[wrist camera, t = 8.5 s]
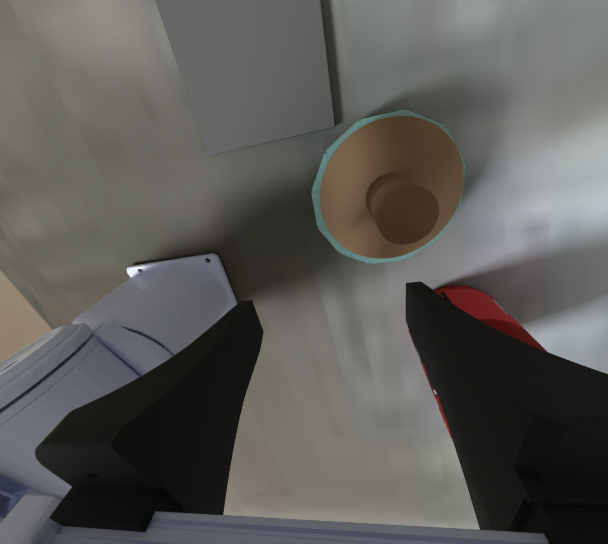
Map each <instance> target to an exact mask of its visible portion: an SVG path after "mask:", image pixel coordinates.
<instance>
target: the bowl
mask: <svg viewBox="0 0 608 544" xmlns="http://www.w3.org/2000/svg"><path fill="white" fill-rule="evenodd" d="M393 116H413V117H417V118H422V119H425V120H427V121H430V122H432V123H433V124H435V125H437V126H438V127H440V128H441V129H442V130H443V131H445V132H446V133H447V134H448V135H449V137H450V138H451V139H452V140H453V142H454V143H455V141H454V139H453V137H452V136H451V134H450V132H449V130H448V128H447V127H445V125H443V124H440V123H438V122H436V121H433V120H431V119H428V118H426V117H424V116H421V115H419V114H416V113H414V112H412V111H409V110H407V109H406V110H404V109H403V110H399V111H395V112H391V113H386V114H382V115H378V116H373V117H369V118H365V119H360V120H358V121H356V122H355V123H354V124H353V125H351V126H350V127H349V128H348V129H347V130H346V131H345V132H344V133H343V134H342V135H340V136H339V137H338V138H337V139H336V140H335V141H334V142H333V143H332V144H331V145H330V146H329V147H328V148H327V149H326V151H325V153H324V156H323V159H322V162H321V164H320V167H319V170H318V173H317V176H316V179H315V182H314V185H313V188H312V192H311V194H312V200H313V205H314V211H315V217H316V222H317V227H318V229H319V230H320V231H321V233H322V234H323V235H324V236H325V237H326V238H327V240H328V241H329V242H330V243H331V244H332V245H333V247H334V248H335V249H336V250H337V251H338V252H340V254H343V255H346V256H349V257H352V258H354V259H357V260H360V261H363V262H366V263H369V264H370V262H371V264H375V263H383V262H391V261H398V260H405V258H406V259H407V258H409V257H410V256H412V255H414V254H415V253H417V252H419V251H420V250H422V249H423V248H425V247H427V246H428V245H430V244H432V243H433V242H435V241H436V240H437V238H440V236H441V235H442V233H443V232H444V230H445V229H446V227H447V226H448V224H449V223H450V221H451V220H452V218H453V217H454V216H455V214H456V213H457V211H458V210H459V208H460V207H461V206H460V204H462V197H463V190H462V194H461V198H460V201H459V204H458V206H457V208H456V210H455V212H454V214H453V216H452V218H451V219H450V221H449V222H448V224H447V225H446V226H445V227H444V229H443V230H442V231H441V232H440V233H439V234H438V235H437V236H436V237H435V238H434V239H432V240H431V241H430V242H429V243H427V244H426V245H424V246H422V247H421V248H419V249H417V250H415V251H413V252H411V253H408V254H405V255H402V256H398V257H394V258H385V259H377V258H369V257H364V256H361V255H358V254H355V253H353V252H351V251H349V250H348V249H346V248H345V247H343V246H342V245H341V244H340V243H339V242H337V241H336V239H335V238H334V237H333V236H332V235H331V233H330V232H329V230H328V228H327V226H326V224H325V222H324V219H323V216H322V212H321V206H320V190H321V183H322V179H323V175H324V172H325V169H326V166H327V164H328V162H329V160H330V158H331V156H332V155H333V153H334V152H335V150H336V149H337V148H338V147H339V145H340V144H341V143H342V142H343V141H344V140H345V139H346V138H347V137H348V136H349V135H351V134H352V133H353V132H355V131H356V130H357V129H359V128H361V127H363V126H364V125H366V124H369V123H371V122H374V121H376V120H379V119H383V118H387V117H393ZM455 145H456V143H455ZM456 147H457V145H456ZM457 149H458V147H457ZM458 151H459V153H460V156H461V159H462V164H463V171H464V179H465V170H466V164H464V163H465V160H464V158H463V156H462V154H461V152H460V150H459V149H458ZM463 188H464V182H463Z"/></svg>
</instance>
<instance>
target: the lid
mask: <svg viewBox="0 0 608 544" xmlns="http://www.w3.org/2000/svg"><path fill="white" fill-rule="evenodd" d="M463 182H464V171H463V164H462V159H461V156H460V153H459V151H458V149H457V147H456V145H455V143H454V142H453V140H452V139H451V138H450V137H449V135H448V134H447V133H446V132H445V131H443V130H442V129H441V128H440V127H438V126H437V125H435V124H433V123H432V122H430V121H427V120H425V119H422V118H417V117H413V116H393V117H387V118H383V119H379V120H376V121H374V122H371V123H369V124H366V125H364V126H363V127H361V128H359V129H357V130H356V131H355V132H353V133H352V134H351V135H349V136H348V137H347V138H346V139H345V140H344V141H343V142H342V143H341V144H340V145H339V147H338V148H337V149H336V150H335V152H334V153H333V155H332V156H331V158H330V160H329V162H328V164H327V166H326V169H325V172H324V175H323V179H322V183H321V190H320V206H321V212H322V216H323V219H324V222H325V224H326V226H327V228H328V230H329V232H330V233H331V235H332V236H333V237H334V238H335V239H336V241H337V242H339V243H340V244H341V245H342V246H343V247H345V248H346V249H348V250H349V251H351V252H353V253H355V254H358V255H361V256H364V257H369V258H377V259H385V258H394V257H398V256H402V255H405V254H408V253H411V252H413V251H415V250H417V249H419V248H421V247H422V246H424V245H426V244H427V243H429V242H430V241H431V240H432V239H434V238H435V237H436V236H437V235H438V234H439V233H440V232H441V231H442V230H443V229H444V227H445V226H446V225H447V224H448V222H449V221H450V219H451V218H452V216H453V214H454V212H455V210H456V208H457V206H458V204H459V201H460V198H461V194H462V190H463Z"/></svg>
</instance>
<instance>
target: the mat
mask: <svg viewBox="0 0 608 544" xmlns="http://www.w3.org/2000/svg"><path fill="white" fill-rule="evenodd" d="M155 1H156V4H157V7H158V10H159V12H160V15H161V18H162V21H163V24H164V27H165V30H166V33H167V35H168V38H169V41H170V44H171V47H172V50H173V53H174V56H175V59H176V61H177V64H178V67H179V70H180V73H181V76H182V79H183V82H184V84H185V87H186V90H187V93H188V96H189V99H190V102H191V105H192V107H193V110H194V113H195V116H196V119H197V122H198V125H199V128H200V131H201V133H202V136H203V139H204V142H205V145H206V148H207V151H208V154H209V156H210V155H215V154H219V153H224V152H228V151H232V150H237V149H241V148H245V147H250V146H254V145H258V144H263V143H267V142H271V141H276V140H280V139H285V138H289V137H293V136H298V135H302V134H306V133H311V132H315V131H319V130H324V129H328V128H332V127H335V123H334V115H333V106H332V98H331V90H330V81H329V73H328V64H327V56H326V47H325V39H324V30H323V22H322V13H321V5H320V0H155Z"/></svg>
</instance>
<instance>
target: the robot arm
mask: <svg viewBox="0 0 608 544" xmlns="http://www.w3.org/2000/svg"><path fill="white" fill-rule="evenodd" d="M207 258H208V259H209V260H210V262H209V261H208V260H207ZM141 269H142V270H143V271H142V270H141ZM127 273H128V274H129V276H130V279H128V280H127V281H126V282H124V283H123V284H121V285H120V286H119V287H117V288H116V289H114V290H113V291H112V292H110V293H109V294H107V295H106V296H105V297H103V298H102V299H100V300H99V301H98V302H96V303H95V304H93V305H92V306H91V307H89V308H88V309H86V310H85V311H84V312H82V313H81V314H80V315H79V316H78V317H77V318H76V319H75V320H74V321H73V323H72V324H65V325H62V326H60V327H58V328H56V329H54V330H52V331H50V332H49V333H47V334H45V335H43V336H42V337H40V338H39V339H37V340H35V341H34V342H32V343H30V344H29V345H27V346H25V347H24V348H22V349H21V350H19V351H18V352H16V353H14V354H13V355H11V356H10V357H8V358H7V359H5V360H4V361H2V362H1V363H0V544H608V374H606V373H603V372H600V371H597V370H594V369H591V368H588V367H586V366H583V365H580V364H577V363H574V362H572V361H569V360H566V359H564V358H561V357H558V356H556V355H553V354H551V353H548V352H546V351H543V350H541V349H539V348H536V347H534V346H532V345H529V344H527V343H524V342H522V341H520V340H518V339H516V338H513V337H511V336H509V335H507V334H505V333H503V332H501V331H499V330H497V329H495V328H493V327H491V326H489V325H488V324H486V323H484V322H482V321H480V320H479V319H477V318H475V317H473V316H472V315H470V314H468V313H467V312H465V311H463V310H462V309H460V308H459V307H457V306H455V305H454V304H452V303H451V302H449V301H448V300H446V299H445V298H443V297H442V296H441V295H439V294H438V293H436V292H435V291H433V290H432V289H431V288H429V287H428V286H426V285H425V284H424V283H422V282H412V283H406V322H407V325H408V328H409V332H410V335H411V338H412V340H413V343H414V345H415V347H416V349H417V351H418V354H419V356H420V358H421V360H422V362H423V364H424V367H425V369H426V371H427V373H428V375H429V377H430V380H431V382H432V384H433V386H434V388H435V391H436V393H437V396H438V398H439V401H440V404H441V407H442V410H443V413H444V416H445V418H446V421H447V424H448V427H449V430H450V433H451V436H452V439H453V442H454V445H455V448H456V452H457V455H458V458H459V461H460V464H461V467H462V471H463V474H464V477H465V480H466V483H467V487H468V490H469V493H470V497H471V500H472V504H473V507H474V510H475V514H476V517H477V520H478V524H479V527H480V530H473V529H455V528H438V527H420V526H403V525H385V524H368V523H350V522H333V521H315V520H298V519H280V518H263V517H245V516H228V515H223V512H224V505H225V498H226V491H227V484H228V477H229V471H230V465H231V459H232V453H233V448H234V443H235V438H236V433H237V428H238V423H239V418H240V414H241V410H242V405H243V401H244V398H245V394H246V391H247V388H248V385H249V382H250V379H251V376H252V373H253V370H254V367H255V364H256V361H257V358H258V355H259V352H260V348H261V343H262V337H263V329H262V326H261V324H260V321H259V318H258V315H257V313H256V310H255V307H254V304H253V302H252V300H250V301H241V302H239V303H237V301H236V298H235V296H234V293H233V291H232V288H231V286H230V283H229V281H228V278H227V276H226V273H225V271H224V268H223V266H222V263H221V261H220V258H219V257H218V255H216V254H206V255H199V256H193V257H186V258H179V259H173V260H166V261H160V262H153V263H147V264H140V265H133V266H130V267H128V268H127Z"/></svg>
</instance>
